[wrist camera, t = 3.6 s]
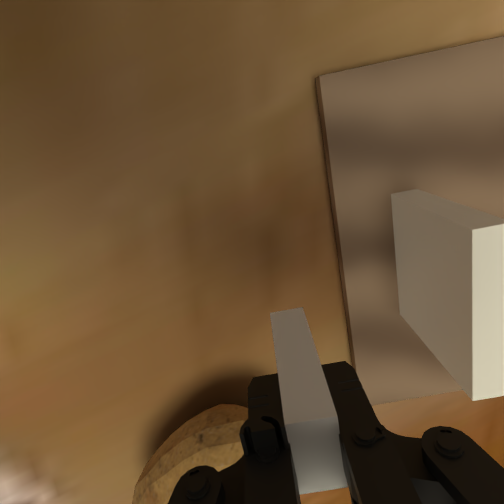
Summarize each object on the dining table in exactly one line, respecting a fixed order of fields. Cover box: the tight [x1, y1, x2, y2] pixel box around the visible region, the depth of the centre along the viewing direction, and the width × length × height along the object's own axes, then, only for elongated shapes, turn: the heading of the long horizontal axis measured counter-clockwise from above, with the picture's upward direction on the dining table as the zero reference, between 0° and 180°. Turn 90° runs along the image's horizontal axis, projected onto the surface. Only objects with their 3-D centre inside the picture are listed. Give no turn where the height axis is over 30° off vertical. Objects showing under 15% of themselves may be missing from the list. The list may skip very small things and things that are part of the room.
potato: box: [132, 404, 248, 504], centre depth 25 cm, size 10×14×8 cm
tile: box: [391, 189, 504, 401], centre depth 18 cm, size 8×2×8 cm, turn 11°
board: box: [315, 36, 504, 406], centre depth 23 cm, size 22×16×1 cm
